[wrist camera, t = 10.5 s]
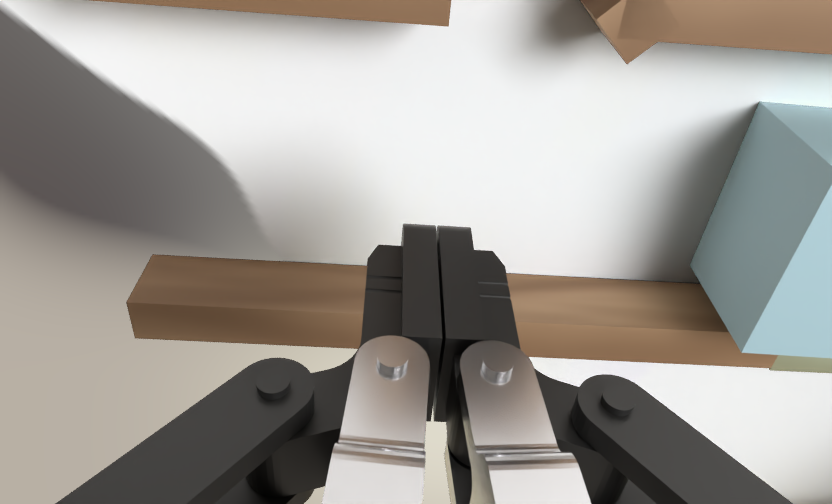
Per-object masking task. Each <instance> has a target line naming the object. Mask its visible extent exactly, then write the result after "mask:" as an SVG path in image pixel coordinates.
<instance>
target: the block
mask: <svg viewBox="0 0 832 504" xmlns="http://www.w3.org/2000/svg"><path fill="white" fill-rule="evenodd" d="M690 266H691V268H692V270H693V272H694V273H695V275H696V277H697V278H698V280H699V282H700V283H701V285H702V287H703V288H704V290H705V292H706V294H707V295H708V297H709V299H710V300H711V302H712V304H713V305H714V307H715V309H716V310H717V312H718V314H719V316H720V317H721V319H722V321H723V322H724V324H725V326H726V327H727V329H728V331H729V332H730V334H731V336H732V338H733V339H734V341H735V343H736V344H737V346H738V348H739V349H740V351H741V353H755V354H771V355H787V356H802V357H818V358H832V108H825V107H814V106H803V105H792V104H781V103H770V102H759V104H758V106H757V109H756V111H755V113H754V116H753V118H752V120H751V123H750V125H749V127H748V130H747V132H746V134H745V137H744V139H743V141H742V144H741V146H740V149H739V151H738V153H737V156H736V158H735V160H734V163H733V165H732V167H731V170H730V172H729V174H728V177H727V179H726V181H725V184H724V186H723V188H722V191H721V193H720V195H719V198H718V200H717V202H716V205H715V207H714V209H713V212H712V214H711V216H710V219H709V221H708V223H707V226H706V228H705V230H704V233H703V235H702V237H701V240H700V242H699V244H698V247H697V249H696V252H695V254H694V256H693V259H692V261H691V263H690Z"/></svg>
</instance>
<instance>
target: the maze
mask: <svg viewBox="0 0 832 504" xmlns="http://www.w3.org/2000/svg"><path fill="white" fill-rule="evenodd" d="M91 1H105V2H119V3H133V4H146V5H160V6H174V7H188V8H202V9H215V10H229V11H243V12H257V13H270V14H284V15H298V16H312V17H325V18H339V19H353V20H367V21H380V22H394V23H408V24H422V25H435V26H449V16H450V7H451V0H91ZM580 1H581V3H582V4H583V6H584V7H585V8H586V10H587V11H588V13H589V14H590V16H591V17H592V19H593V20H594V22H595V23H596V24H597V26H598V27H599V29H600V30H601V32H602V33H603V34H604V36H605V37H606V38H607V39H608V41H609V42H610V43H611V45H612V46H613V47H614V48H615V50H616V51H617V52H618V53H619V55H620V56H621V57H622V59H623V60H624V61H625V62H626V64H628V63H629V62H631V61H632V60H634V59H635V58H636V57H638V56H639V55H640V54H642V53H643V52H644V51H646V50H647V49H649V48H650V47H651V46H653V45H654V44H655V43H657V42H669V43H683V44H697V45H711V46H724V47H738V48H752V49H766V50H780V51H793V52H807V53H821V54H832V0H580ZM366 274H367V266H357V265H338V264H320V263H301V262H282V261H263V260H245V259H225V258H208V257H207V258H206V257H189V256H188V257H187V256H171V255H152V256H151V258H150V260H149V262H148V264H147V266H146V268H145V269H144V271H143V273H142V275H141V277H140V279H139V280H138V282H137V284H136V286H135V288H134V289H133V291H132V293H131V295H130V297H129V299H128V300H127V307H128V311H129V315H130V319H131V323H132V328H133V332H134V336H135V338H141V339H142V338H143V339H163V340H164V339H165V340H185V341H206V342H226V343H227V342H228V343H248V344H269V345H290V346H291V345H292V346H311V347H312V346H313V347H333V348H354V349H358V348H359V346H360V343H361V335H362V323H363V311H364V299H365V287H366ZM506 275H507V281H508V286H509V291H510V299H511V302H512V307H513V312H514V317H515V322H516V328H517V333H518V338H519V343H520V348H521V351H522V352H524V353H525V354H526V355H527V356H528V357H545V358H566V359H587V360H608V361H630V362H651V363H672V364H693V365H714V366H736V367H757V368H769V370H775V371H796V372H818V373H832V358H818V357H802V356H787V355H771V354H755V353H741V351H740V349H739V348H738V346H737V344H736V343H735V341H734V339H733V338H732V336H731V334H730V332H729V331H728V329H727V327H726V326H725V324H724V322H723V321H722V319H721V317H720V316H719V314H718V312H717V310H716V309H715V307H714V305H713V304H712V302H711V300H710V299H709V297H708V295H707V294H706V292H705V290H704V288H703V287H702V285H701V284H693V283H674V282H656V281H637V280H618V279H600V278H581V277H562V276H544V275H525V274H506Z"/></svg>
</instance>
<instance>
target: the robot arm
mask: <svg viewBox="0 0 832 504" xmlns="http://www.w3.org/2000/svg"><path fill="white" fill-rule="evenodd" d="M432 408H433V411H434V421H438V422H446V425H447V442H446V448H445V453H444V455H445V465H446V472H447V479H448V486H449V494H450V501H451V504H793V503H791V502H790V501H789V500H787V499H786V498H785V497H783V496H782V495H781V494H779V493H778V492H777V491H776V490H774V489H773V488H772V487H770V486H769V485H768V484H766V483H765V482H764V481H762V480H761V479H760V478H759V477H757V476H756V475H755V474H753V473H752V472H751V471H749V470H748V469H747V468H745V467H744V466H743V465H742V464H740V463H739V462H738V461H736V460H735V459H734V458H732V457H731V456H730V455H728V454H727V453H726V452H725V451H723V450H722V449H721V448H719V447H718V446H717V445H715V444H714V443H713V442H711V441H710V440H709V439H708V438H706V437H705V436H704V435H702V434H701V433H700V432H698V431H697V430H696V429H694V428H693V427H692V426H691V425H689V424H688V423H687V422H685V421H684V420H683V419H681V418H680V417H679V416H677V415H676V414H675V413H674V412H672V411H671V410H670V409H668V408H667V407H666V406H664V405H663V404H662V403H660V402H659V401H658V400H657V399H655V398H654V397H653V396H651V395H650V394H649V393H647V392H646V391H645V390H643V389H642V388H641V387H639V386H638V385H636V384H635V383H633V382H631V381H629V380H627V379H625V378H622V377H619V376H615V375H596V376H593V377H590V378H588V379H586V380H585V381H584V382H583V383H582V384H581V386H580V387H577V386H573V385H570V384H567V383H564V382H560V381H557V380H554V379H552V378H549V377H547V376H545V375H543V374H542V373H540V372H538V371H537V370H536V369H535V368H534V367H533V364H532V362H531V360H530V359H529V357H528V356H527V355H526V354H525V353H524V352H522V351H521V348H520V343H519V338H518V333H517V328H516V322H515V317H514V312H513V307H512V302H511V299H510V291H509V286H508V281H507V275H506V270H505V266H504V265H503V263H502V262H501V261H500V260H499V258H498V257H497V256H496V255H495V253H494V252H493V251H481V250H474V248H473V240H472V233H471V228H470V227H453V226H438V227H437V231H436V226H434V225H417V224H403V230H402V242H401V246H391V245H378V246H377V247H376V249H375V250H374V251H373V253H372V254H371V255H370V257H369V258H368V262H367V274H366V287H365V299H364V311H363V323H362V335H361V343H360V346H359V348H358V350H357V352H356V353H355V354H354V355H353V357H352V358H351V359H349V360H348V361H347V362H345V363H343V364H342V365H340V366H337V367H335V368H332V369H329V370H324V371H320V372H315V373H310V372H309V370H308V369H307V368H306V367H304V366H303V365H302V364H300V363H298V362H296V361H294V360H290V359H285V358H269V359H264V360H261V361H258V362H256V363H253V364H252V365H250V366H248V367H247V368H245V369H244V370H242V371H241V372H240V373H238V374H237V375H235V376H234V377H233V378H231V379H230V380H228V381H227V382H226V383H224V384H223V385H221V386H220V387H218V388H217V389H216V390H214V391H213V392H212V393H210V394H209V395H207V396H206V397H205V398H203V399H202V400H200V401H199V402H198V403H196V404H195V405H193V406H192V407H190V408H189V409H188V410H186V411H185V412H183V413H182V414H181V415H179V416H178V417H177V418H175V419H174V420H172V421H171V422H169V423H168V424H167V425H165V426H164V427H163V428H161V429H160V430H158V431H157V432H155V433H154V434H153V435H151V436H150V437H148V438H147V439H146V440H144V441H143V442H141V443H140V444H139V445H137V446H136V447H134V448H133V449H132V450H130V451H129V452H127V453H126V454H125V455H123V456H122V457H121V458H119V459H118V460H116V461H115V462H113V463H112V464H111V465H110V466H108V467H107V468H105V469H104V470H102V471H101V472H99V473H98V474H97V475H95V476H94V477H92V478H91V479H90V480H88V481H87V482H85V483H84V484H83V485H81V486H80V487H79V488H77V489H76V490H74V491H73V492H71V493H70V494H69V495H67V496H66V497H64V498H63V499H62V500H60V501H59V502H57V503H56V504H304V503H305V502H306V501H307V500H308V499H309V497H310V496H311V494H312V493H313V491H314V489H316V488H320V487H323V486H325V490H324V495H323V500H322V504H423V489H424V473H425V451H424V447H425V431H426V421H431V415H432Z"/></svg>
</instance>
